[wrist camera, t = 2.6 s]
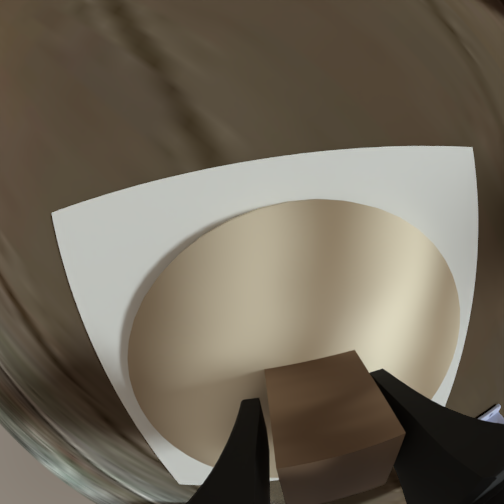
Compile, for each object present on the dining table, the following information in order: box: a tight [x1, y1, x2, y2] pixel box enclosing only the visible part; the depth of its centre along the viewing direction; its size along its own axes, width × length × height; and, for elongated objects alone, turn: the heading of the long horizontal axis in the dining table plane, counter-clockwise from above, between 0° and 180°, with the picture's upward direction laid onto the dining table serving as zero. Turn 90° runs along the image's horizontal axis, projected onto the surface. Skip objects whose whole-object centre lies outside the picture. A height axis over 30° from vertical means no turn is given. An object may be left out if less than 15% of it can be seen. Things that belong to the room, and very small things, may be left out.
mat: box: [51, 146, 478, 485], centre depth 11 cm, size 18×18×1 cm
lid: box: [127, 199, 460, 504], centre depth 8 cm, size 15×15×5 cm
